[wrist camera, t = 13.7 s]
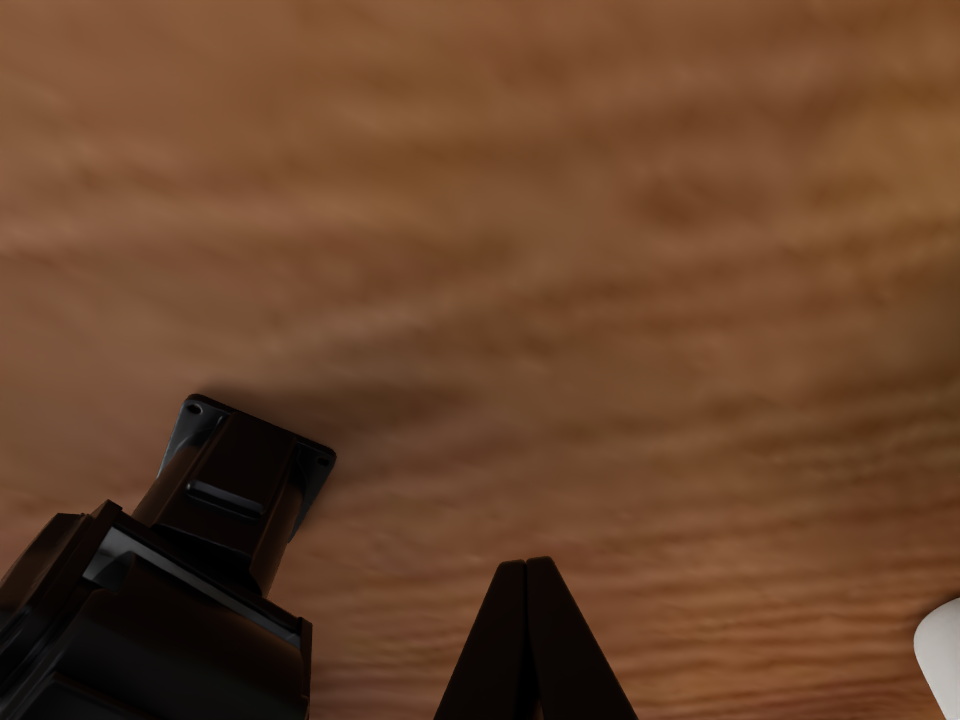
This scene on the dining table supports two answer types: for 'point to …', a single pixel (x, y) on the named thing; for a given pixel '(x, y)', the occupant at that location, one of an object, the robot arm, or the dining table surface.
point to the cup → (941, 655)
